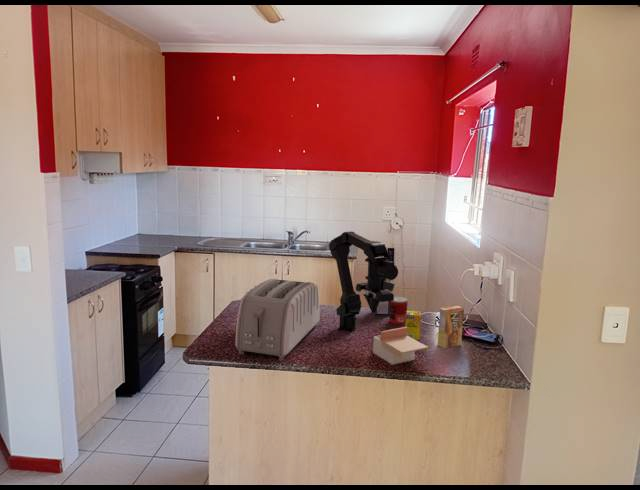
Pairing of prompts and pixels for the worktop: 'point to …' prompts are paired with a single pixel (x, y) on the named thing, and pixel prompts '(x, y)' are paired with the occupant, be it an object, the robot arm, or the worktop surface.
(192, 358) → the worktop surface
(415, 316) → the supplement box
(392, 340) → the lid
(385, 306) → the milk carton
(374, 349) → the mailer tray
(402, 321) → the canned food
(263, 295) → the toaster
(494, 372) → the worktop surface
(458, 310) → the candy box
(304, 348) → the worktop surface
